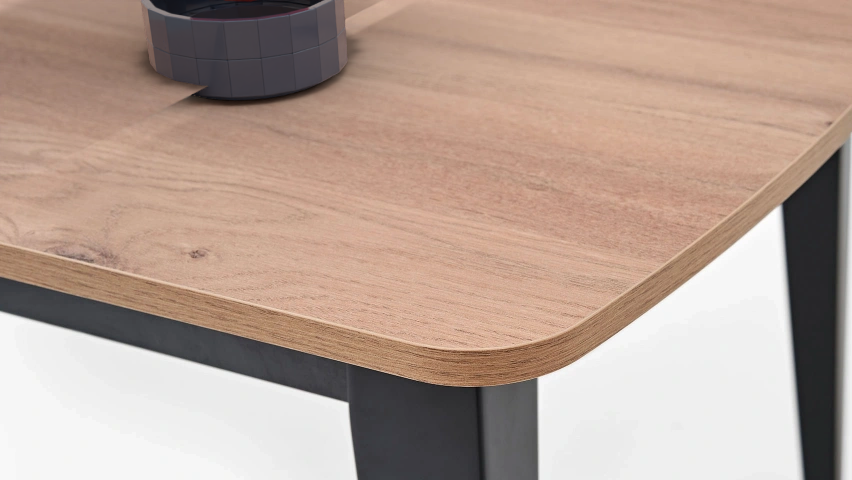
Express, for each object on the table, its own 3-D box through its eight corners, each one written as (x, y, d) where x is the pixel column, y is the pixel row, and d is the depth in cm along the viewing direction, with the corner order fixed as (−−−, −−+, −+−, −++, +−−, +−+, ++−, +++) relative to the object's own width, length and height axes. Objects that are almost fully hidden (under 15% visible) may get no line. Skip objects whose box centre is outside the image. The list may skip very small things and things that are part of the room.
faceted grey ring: (112, 85, 87) (98, 4, 84) (234, 30, 98) (226, -44, 95) (271, 118, 81) (263, 32, 79) (383, 56, 92) (379, -22, 89)
